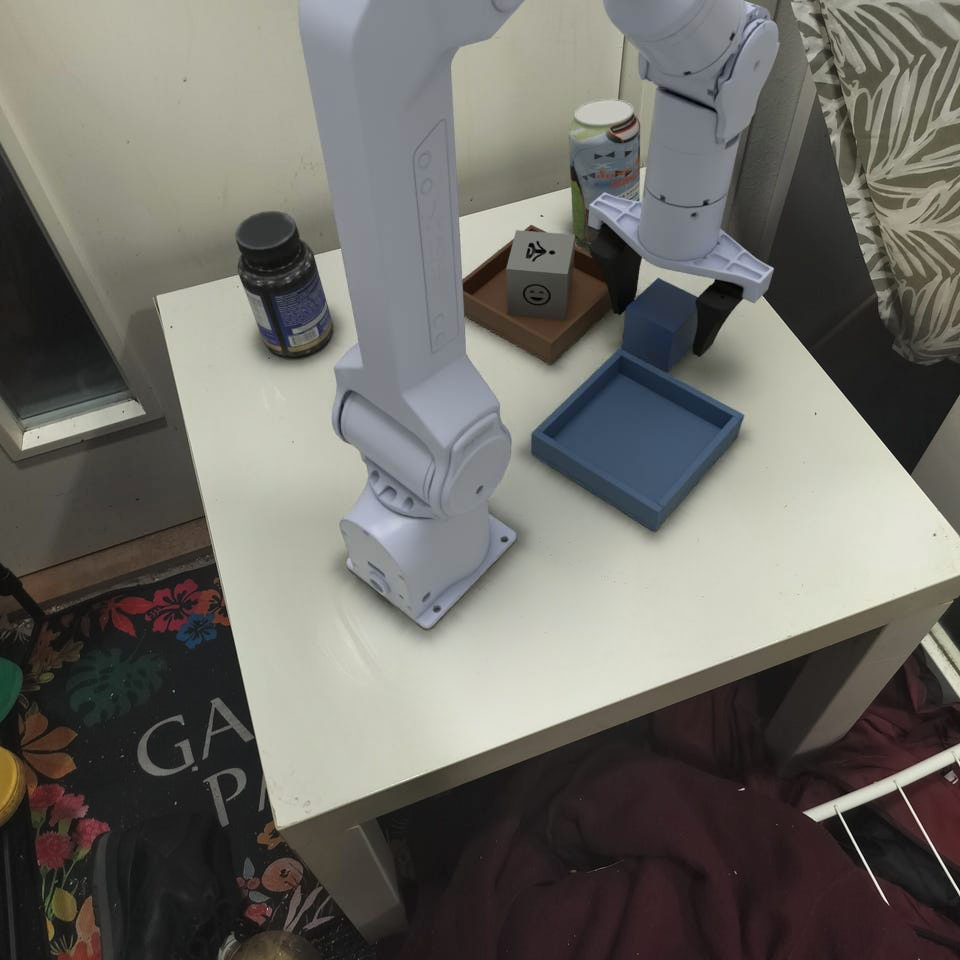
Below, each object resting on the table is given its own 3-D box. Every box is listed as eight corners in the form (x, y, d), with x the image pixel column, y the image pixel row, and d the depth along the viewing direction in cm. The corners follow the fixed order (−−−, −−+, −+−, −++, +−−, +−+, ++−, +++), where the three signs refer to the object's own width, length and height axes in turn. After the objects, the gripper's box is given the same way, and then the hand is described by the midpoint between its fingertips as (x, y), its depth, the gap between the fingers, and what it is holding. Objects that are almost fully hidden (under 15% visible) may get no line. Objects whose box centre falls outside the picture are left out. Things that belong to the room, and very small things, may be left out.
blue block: (666, 372, 68) (674, 332, 64) (620, 348, 70) (625, 307, 66) (697, 341, 70) (705, 300, 66) (651, 318, 72) (658, 277, 68)
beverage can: (604, 266, 76) (614, 145, 66) (549, 228, 80) (552, 109, 70) (653, 235, 78) (670, 114, 69) (597, 200, 82) (606, 81, 72)
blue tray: (654, 532, 59) (659, 512, 57) (530, 453, 64) (530, 433, 62) (738, 435, 64) (744, 414, 62) (617, 369, 69) (619, 347, 67)
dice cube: (517, 276, 75) (516, 230, 71) (572, 281, 74) (575, 234, 70) (507, 314, 72) (506, 268, 68) (565, 320, 72) (567, 274, 67)
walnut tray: (550, 365, 69) (551, 343, 67) (453, 310, 74) (451, 288, 72) (627, 294, 74) (629, 272, 72) (531, 246, 78) (531, 224, 76)
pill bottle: (340, 311, 74) (313, 205, 65) (326, 361, 71) (296, 256, 62) (272, 309, 75) (237, 203, 66) (255, 358, 71) (215, 254, 62)
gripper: (812, 192, 56) (767, 338, 67) (632, 120, 62) (617, 265, 73) (758, 246, 53) (719, 390, 64) (574, 166, 59) (568, 310, 70)
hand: (662, 327), depth 68 cm, fingers open, 7 cm apart
